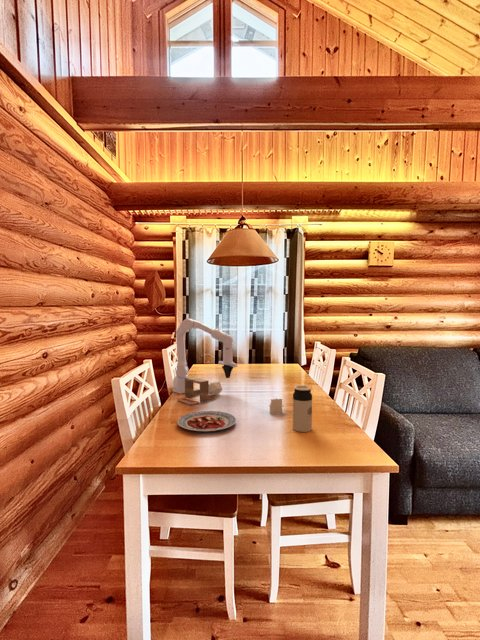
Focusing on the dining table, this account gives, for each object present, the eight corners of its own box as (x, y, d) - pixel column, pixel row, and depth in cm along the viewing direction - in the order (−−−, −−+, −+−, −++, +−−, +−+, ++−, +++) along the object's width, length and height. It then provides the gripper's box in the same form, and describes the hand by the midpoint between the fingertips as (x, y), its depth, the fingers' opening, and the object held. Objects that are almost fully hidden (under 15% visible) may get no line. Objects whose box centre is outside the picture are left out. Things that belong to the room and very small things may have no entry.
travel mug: (288, 428, 151) (289, 386, 150) (301, 424, 156) (302, 384, 155) (302, 434, 145) (303, 390, 144) (315, 429, 150) (316, 387, 149)
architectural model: (268, 412, 174) (268, 397, 174) (282, 411, 175) (282, 396, 175) (270, 414, 171) (270, 399, 170) (284, 413, 172) (284, 398, 172)
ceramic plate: (189, 440, 139) (188, 432, 139) (170, 420, 162) (170, 414, 162) (246, 429, 151) (246, 422, 151) (221, 412, 174) (221, 406, 174)
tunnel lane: (184, 397, 200) (184, 377, 199) (198, 394, 206) (198, 375, 206) (201, 402, 189) (201, 382, 188) (215, 399, 195) (214, 379, 195)
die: (224, 395, 207) (219, 380, 211) (222, 391, 199) (217, 376, 203) (211, 400, 206) (206, 385, 210) (209, 396, 198) (203, 381, 203)
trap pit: (178, 401, 192) (178, 398, 192) (185, 399, 196) (185, 397, 196) (191, 405, 184) (191, 403, 184) (199, 403, 187) (199, 401, 187)
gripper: (241, 355, 209) (241, 378, 210) (224, 353, 219) (224, 374, 220) (232, 357, 204) (232, 380, 205) (215, 354, 214) (216, 376, 215)
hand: (227, 377), depth 212 cm, fingers closed
